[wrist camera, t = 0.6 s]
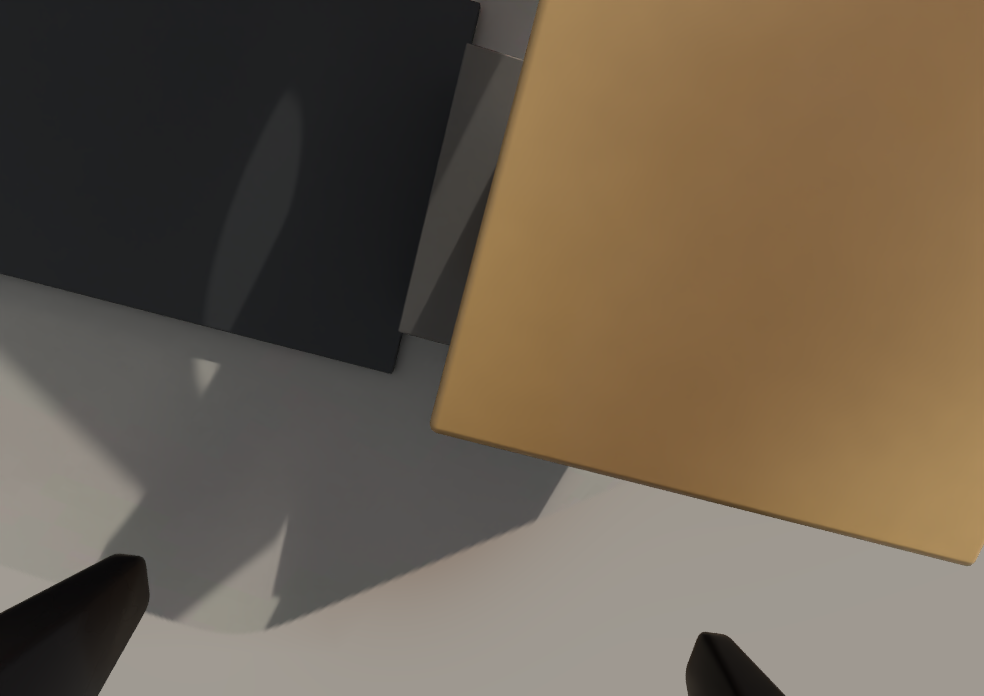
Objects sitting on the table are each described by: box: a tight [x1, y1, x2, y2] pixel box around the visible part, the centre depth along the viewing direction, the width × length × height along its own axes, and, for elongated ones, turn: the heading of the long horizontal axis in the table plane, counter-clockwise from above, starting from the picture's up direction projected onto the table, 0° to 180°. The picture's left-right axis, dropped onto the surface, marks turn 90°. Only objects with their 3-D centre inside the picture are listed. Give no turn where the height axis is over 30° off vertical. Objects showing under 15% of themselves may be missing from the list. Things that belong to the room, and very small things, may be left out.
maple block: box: [430, 0, 984, 566], centre depth 10 cm, size 5×5×13 cm
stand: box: [398, 43, 524, 345], centre depth 19 cm, size 9×9×4 cm
